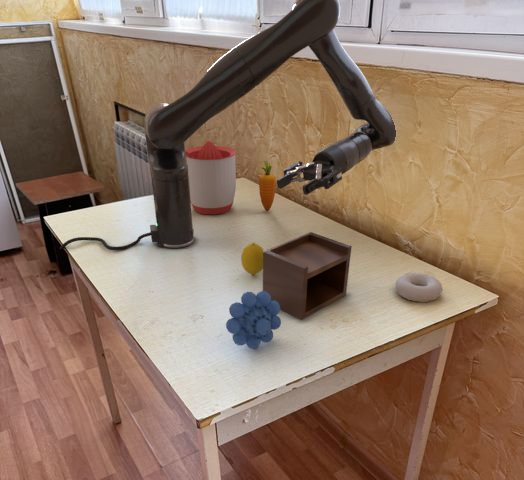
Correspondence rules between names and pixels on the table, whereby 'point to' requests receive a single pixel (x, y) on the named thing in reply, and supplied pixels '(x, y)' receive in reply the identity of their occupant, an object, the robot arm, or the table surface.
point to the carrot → (267, 187)
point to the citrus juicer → (211, 178)
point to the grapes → (253, 319)
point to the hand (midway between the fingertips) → (290, 187)
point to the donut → (418, 287)
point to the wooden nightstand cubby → (306, 273)
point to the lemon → (252, 258)
